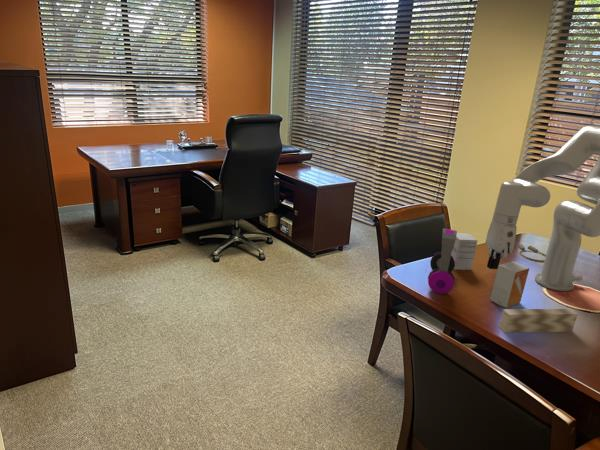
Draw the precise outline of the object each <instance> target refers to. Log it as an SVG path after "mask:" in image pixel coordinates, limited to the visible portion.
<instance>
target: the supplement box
mask: <svg viewBox="0 0 600 450" xmlns="http://www.w3.org/2000/svg"><path fill="white" fill-rule="evenodd" d="M477 245H478V239H477V238H476V237H474V236H473V235H472V234H471V233H467V232H457V235H456V240H455V244H454V247H453V250H452V253H451V256H453V259H454V261H455V267H454V269H453V271H454V270H456V271H457V270H459V271H460V270H461V271H472V268H473V264H474V259H475V255H476V250H477Z"/></svg>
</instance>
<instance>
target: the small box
mask: <svg viewBox="0 0 600 450" xmlns="http://www.w3.org/2000/svg"><path fill="white" fill-rule="evenodd" d="M529 271H530V267H527V266H525V265H523V264H520V263H518V262H516V261H507V262H504V263H502V264H499V266H498V269H496V274H495V278H494V282H493V286H492V291H491V295H490V301H491V302H493V303H495V304H497V305H499V306H501V307H504V308H505V309H509V308H510V307H513V306H515V305H518V304H520V303H521V302H522V297H523V293H524V290H525V286H526V283H527V278H528V275H529Z"/></svg>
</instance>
